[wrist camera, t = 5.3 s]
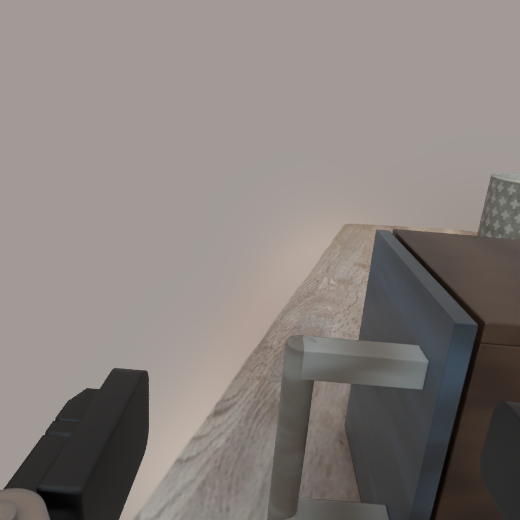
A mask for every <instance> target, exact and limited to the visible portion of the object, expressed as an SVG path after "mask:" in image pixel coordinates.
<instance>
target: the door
mask: <svg viewBox="0 0 520 520" xmlns="http://www.w3.org/2000/svg"><path fill="white" fill-rule="evenodd" d="M477 329H478V324H477V323H476V322H475V321H474V320H473V319H472V318H471V317H470V316H469V315H468V314H467V313H466V312H465V310H464V309H463V308H462V307H461V306H460V305H459V304H458V303H457V302H456V301H455V300H454V299H453V298H452V297H451V296H450V295H449V294H448V292H447V291H446V290H445V289H444V288H443V287H442V286H441V285H440V284H439V283H438V282H437V281H436V280H435V279H434V278H433V277H432V276H431V274H430V273H429V272H428V271H427V270H426V269H425V268H424V267H423V266H422V265H421V264H420V263H419V262H418V261H417V260H416V259H415V258H414V256H413V255H412V254H411V253H410V252H409V251H408V250H407V249H406V248H405V247H404V246H403V245H402V244H401V243H400V242H399V241H398V240H397V238H396V237H395V236H394V235H393V234H392V233H391V232H390V231H387V230H376V235H375V241H374V247H373V253H372V260H371V266H370V272H369V278H368V284H367V291H366V297H365V303H364V309H363V315H362V322H361V328H360V334H359V340H350V339H338V338H326V337H315V336H303V335H296V336H291V337H289V338H288V339H287V340H286V348H285V357H284V366H283V376H282V385H281V395H280V404H279V414H278V423H277V433H276V442H275V452H274V461H273V471H272V480H271V490H270V499H269V508H268V518H267V520H430V516H431V512H432V508H433V504H434V500H435V496H436V492H437V488H438V484H439V480H440V476H441V472H442V468H443V464H444V460H445V456H446V452H447V448H448V444H449V440H450V436H451V432H452V428H453V424H454V420H455V416H456V412H457V408H458V404H459V400H460V396H461V392H462V388H463V384H464V380H465V376H466V372H467V368H468V364H469V361H470V357H471V353H472V349H473V345H474V341H475V337H476V333H477ZM314 380H315V381H326V382H338V383H350V384H351V390H350V396H349V402H348V409H347V415H346V421H345V428H346V433H347V437H348V442H349V446H350V451H351V456H352V460H353V465H354V469H355V474H356V479H357V483H358V488H359V492H360V497H361V502H362V503H355V502H344V501H332V500H321V499H310V498H299V491H300V483H301V476H302V468H303V460H304V453H305V445H306V437H307V430H308V422H309V414H310V407H311V399H312V392H313V384H314Z"/></svg>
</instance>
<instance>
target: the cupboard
mask: <svg viewBox="0 0 520 520" xmlns="http://www.w3.org/2000/svg"><path fill="white" fill-rule="evenodd" d="M393 235H394V236H395V237H396V238H397V240H398V241H399V242H400V243H401V244H402V245H403V246H404V247H405V248H406V249H407V250H408V251H409V252H410V253H411V254H412V255H413V256H414V258H415V259H416V260H417V261H418V262H419V263H420V264H421V265H422V266H423V267H424V268H425V269H426V270H427V271H428V272H429V273H430V274H431V276H432V277H433V278H434V279H435V280H436V281H437V282H438V283H439V284H440V285H441V286H442V287H443V288H444V289H445V290H446V291H447V292H448V294H449V295H450V296H451V297H452V298H453V299H454V300H455V301H456V302H457V303H458V304H459V305H460V306H461V307H462V308H463V309H464V310H465V312H466V313H467V314H468V315H469V316H470V317H471V318H472V319H473V320H474V321H475V322H476V323H477V324H478V329H477V333H476V337H475V341H474V345H473V349H472V353H471V357H470V361H469V364H468V368H467V372H466V376H465V380H464V384H463V388H462V392H461V396H460V400H459V404H458V408H457V412H456V416H455V420H454V424H453V428H452V432H451V436H450V440H449V444H448V448H447V452H446V456H445V460H444V464H443V468H442V472H441V476H440V480H439V484H438V488H437V492H436V496H435V500H434V504H433V508H432V512H431V516H430V520H503V518H502V516H501V514H500V513H499V511H498V509H497V507H496V505H495V504H494V502H493V500H492V498H491V497H490V495H489V493H488V491H487V489H486V488H485V485H484V483H483V480H482V477H481V471H480V457H481V453H482V449H483V446H484V442H485V438H486V435H487V431H488V427H489V423H490V420H491V416H492V412H493V409H494V407H495V405H496V404H497V403H498V402H500V401H506V402H518V403H520V240H519V239H507V238H495V237H483V236H471V235H458V234H446V233H434V232H422V231H410V230H398V229H394V230H393Z"/></svg>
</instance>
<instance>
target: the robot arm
mask: <svg viewBox="0 0 520 520" xmlns="http://www.w3.org/2000/svg"><path fill="white" fill-rule="evenodd" d="M148 432H149V377H148V372H147V371H144V370H132V369H119V368H114V369H113V370H112V371H111V372H110V374H109V376H108V377H107V379H106V380H105V382H104V383H103V385H102V386H101V388H100V389H90V388H87V389H85V390H84V391H82V392H81V393H79V394H78V395H77V396H75V397H73V398H72V399H70V400H69V401H68V402H67V403H66V405H65V406H64V407H63V409H62V410H61V411H60V413H59V414H58V415H57V417H56V420H55V421H53V422H52V424H51V425H50V426H49V428H48V429H47V430H46V433H45V435H43V436H42V437H41V439H40V440H39V441H38V443H37V444H36V446H35V447H34V448H33V450H32V451H31V452H30V454H29V455H28V457H27V458H26V459H25V461H24V462H23V463H22V465H21V466H20V467H19V469H18V470H17V472H16V473H15V474H14V476H13V477H12V479H11V480H10V481H9V482H8V484H7V485H6V487H5V488H4V489H3V490H0V520H119V518H120V515H121V513H122V510H123V508H124V505H125V503H126V500H127V497H128V495H129V492H130V490H131V487H132V485H133V482H134V479H135V477H136V474H137V472H138V469H139V466H140V464H141V461H142V459H143V456H144V453H145V450H146V445H147V440H148ZM480 471H481V477H482V480H483V483H484V485H485V488H486V489H487V491H488V493H489V495H490V497H491V498H492V500H493V502H494V504H495V505H496V507H497V509H498V511H499V513H500V514H501V516H502V518H503V520H520V403H518V402H506V401H500V402H498V403H497V404H496V405H495V407H494V409H493V412H492V416H491V420H490V423H489V427H488V431H487V435H486V438H485V442H484V446H483V449H482V453H481V457H480Z"/></svg>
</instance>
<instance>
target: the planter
mask: <svg viewBox="0 0 520 520" xmlns="http://www.w3.org/2000/svg"><path fill="white" fill-rule="evenodd" d="M477 236H483V237H495V238H507V239H519V240H520V174H515V173H494V174H492V175H491V178H490V183H489V187H488V191H487V196H486V200H485V204H484V209H483V213H482V217H481V221H480V226H479V230H478V234H477Z"/></svg>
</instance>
